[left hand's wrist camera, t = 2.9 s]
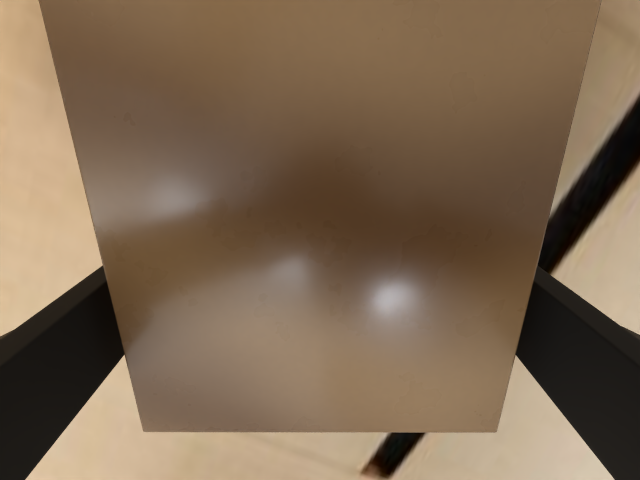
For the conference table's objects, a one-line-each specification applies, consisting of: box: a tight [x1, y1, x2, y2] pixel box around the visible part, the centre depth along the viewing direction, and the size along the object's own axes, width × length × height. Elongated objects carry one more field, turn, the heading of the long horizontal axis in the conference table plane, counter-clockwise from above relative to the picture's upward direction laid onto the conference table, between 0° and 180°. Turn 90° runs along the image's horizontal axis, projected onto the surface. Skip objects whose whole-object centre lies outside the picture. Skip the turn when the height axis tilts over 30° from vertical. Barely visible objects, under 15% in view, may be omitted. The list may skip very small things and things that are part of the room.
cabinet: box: [39, 0, 601, 432], centre depth 13 cm, size 17×11×11 cm, turn 0°
